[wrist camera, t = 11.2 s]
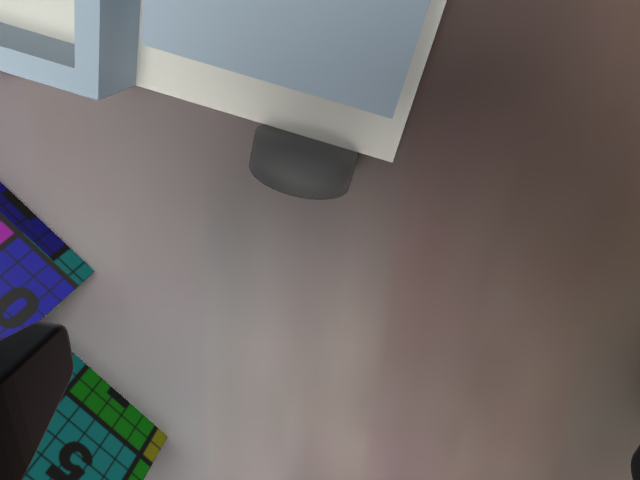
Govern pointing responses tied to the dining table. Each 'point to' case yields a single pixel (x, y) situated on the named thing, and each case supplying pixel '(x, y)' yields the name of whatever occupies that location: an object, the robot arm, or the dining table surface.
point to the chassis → (245, 69)
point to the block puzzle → (85, 385)
